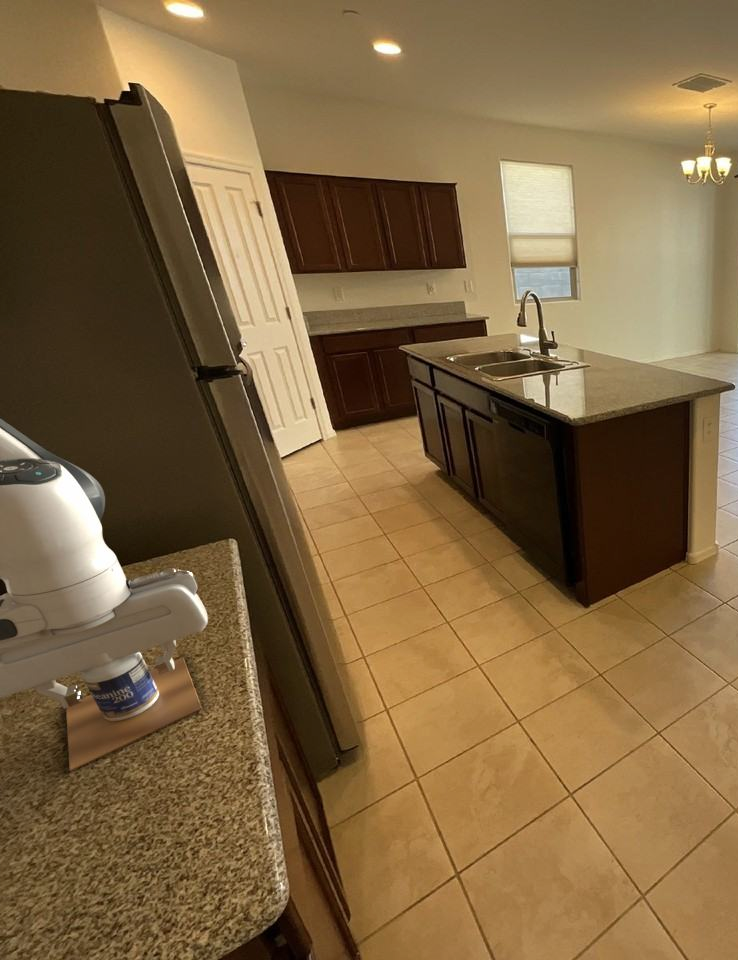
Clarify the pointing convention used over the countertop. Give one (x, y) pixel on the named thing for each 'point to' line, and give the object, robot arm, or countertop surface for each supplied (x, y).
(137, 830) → the countertop surface
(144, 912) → the countertop surface
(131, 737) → the wooden board
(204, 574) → the countertop surface
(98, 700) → the pill bottle
